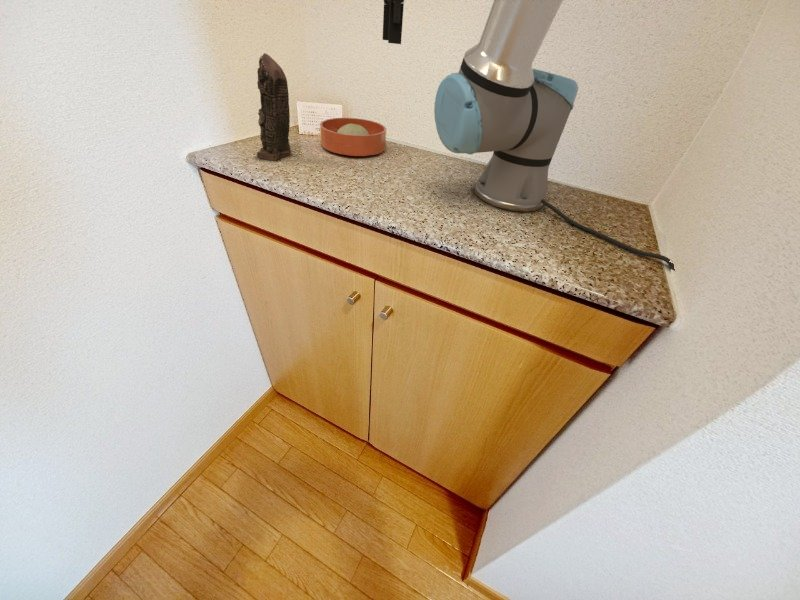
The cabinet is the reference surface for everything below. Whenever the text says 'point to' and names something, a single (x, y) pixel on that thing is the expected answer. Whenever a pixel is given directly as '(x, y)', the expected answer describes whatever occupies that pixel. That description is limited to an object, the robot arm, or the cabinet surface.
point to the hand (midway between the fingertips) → (391, 42)
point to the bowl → (353, 137)
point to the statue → (273, 110)
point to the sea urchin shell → (353, 130)
